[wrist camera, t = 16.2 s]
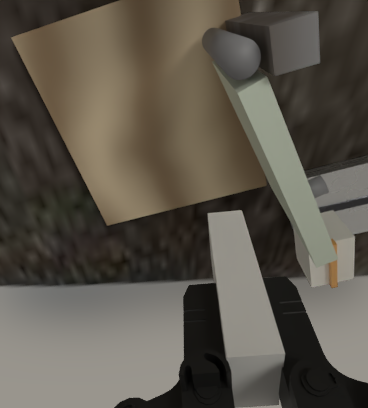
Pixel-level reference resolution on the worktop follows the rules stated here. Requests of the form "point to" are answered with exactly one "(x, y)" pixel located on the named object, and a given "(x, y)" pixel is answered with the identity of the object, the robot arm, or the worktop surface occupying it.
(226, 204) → the worktop surface
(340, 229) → the fader cap
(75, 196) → the worktop surface
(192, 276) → the worktop surface
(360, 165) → the fader console
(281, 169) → the door
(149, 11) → the base
